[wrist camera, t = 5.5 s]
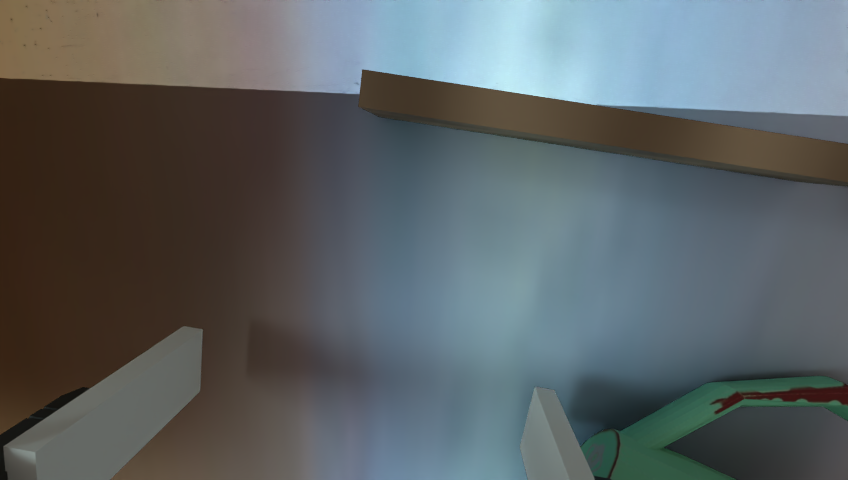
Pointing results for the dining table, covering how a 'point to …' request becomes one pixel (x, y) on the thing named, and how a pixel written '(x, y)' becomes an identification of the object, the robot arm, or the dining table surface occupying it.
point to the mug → (699, 426)
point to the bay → (604, 129)
